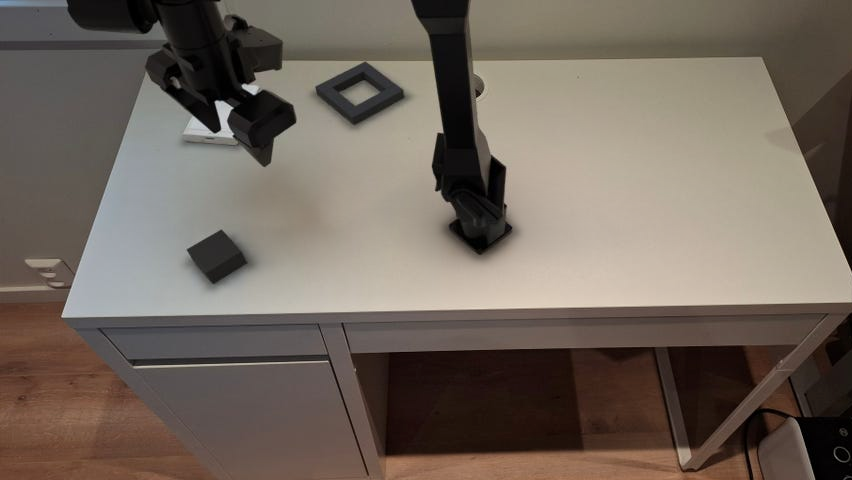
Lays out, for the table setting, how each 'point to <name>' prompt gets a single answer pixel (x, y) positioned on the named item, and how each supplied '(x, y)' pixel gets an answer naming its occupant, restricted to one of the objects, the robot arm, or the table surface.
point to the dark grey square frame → (367, 108)
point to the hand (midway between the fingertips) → (241, 147)
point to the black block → (217, 256)
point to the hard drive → (203, 134)
